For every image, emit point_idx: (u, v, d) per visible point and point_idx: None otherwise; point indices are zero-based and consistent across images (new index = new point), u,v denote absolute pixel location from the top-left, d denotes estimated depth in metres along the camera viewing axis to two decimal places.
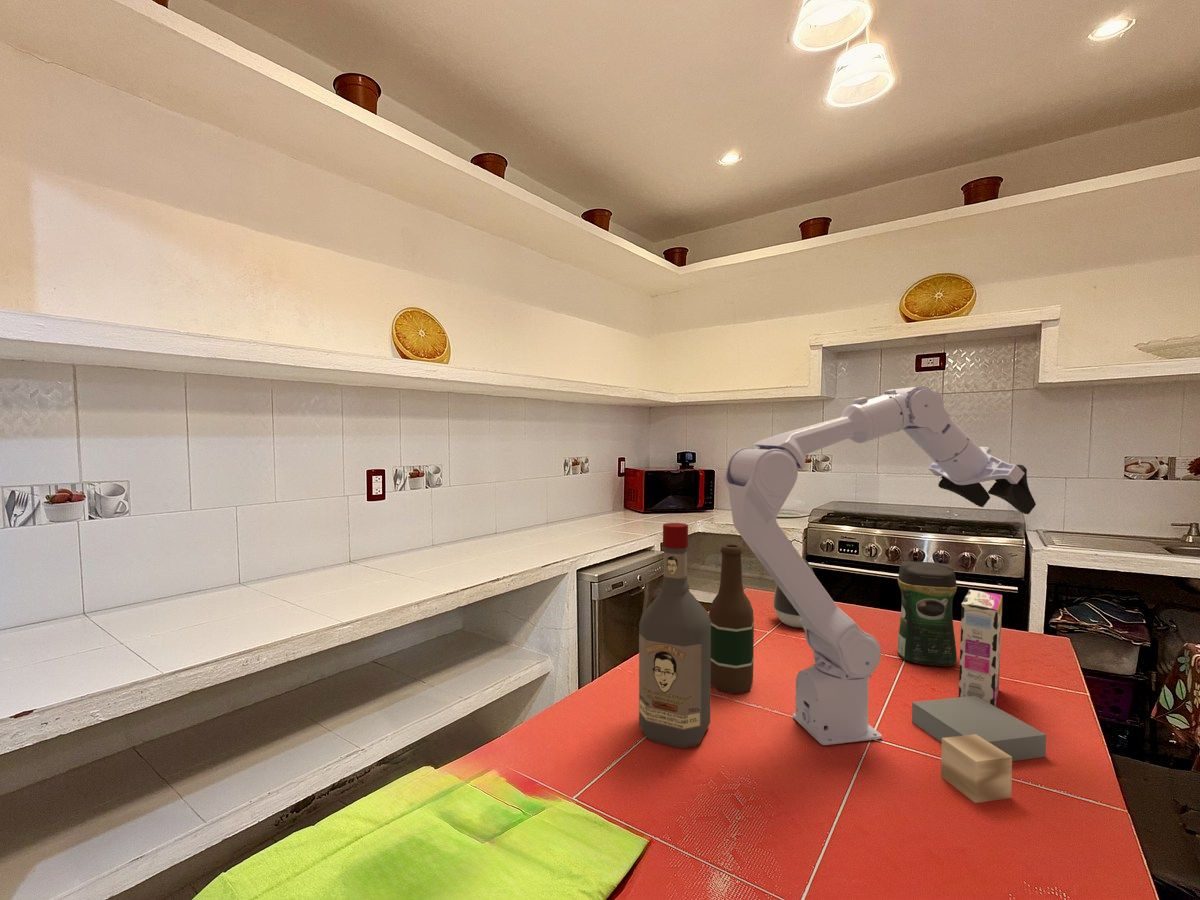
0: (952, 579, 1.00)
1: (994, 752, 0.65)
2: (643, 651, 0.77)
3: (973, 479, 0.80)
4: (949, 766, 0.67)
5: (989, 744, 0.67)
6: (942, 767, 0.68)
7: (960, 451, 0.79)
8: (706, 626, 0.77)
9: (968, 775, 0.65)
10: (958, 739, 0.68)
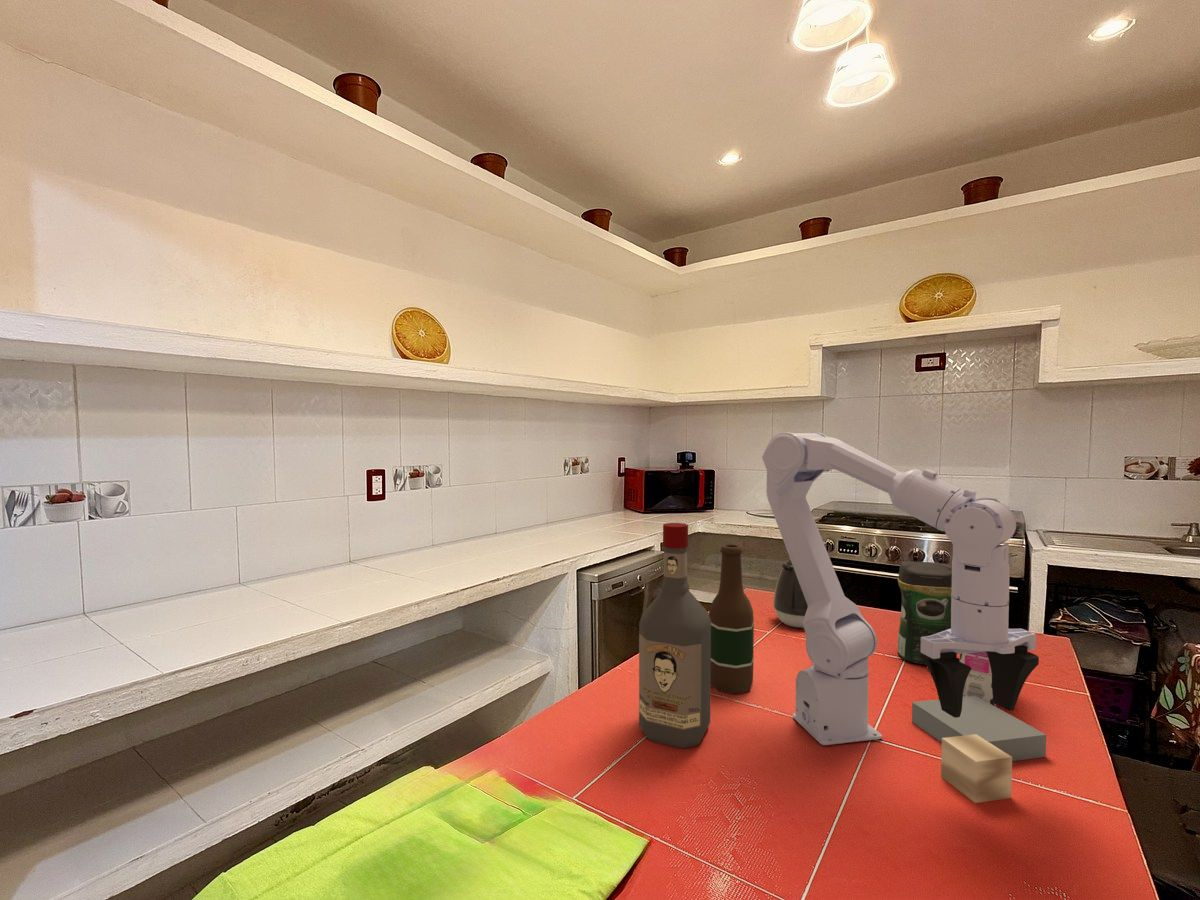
0: None
1: (994, 752, 0.65)
2: (643, 651, 0.77)
3: (946, 630, 0.68)
4: (949, 766, 0.67)
5: (989, 744, 0.67)
6: (942, 767, 0.68)
7: (954, 597, 0.66)
8: (706, 626, 0.77)
9: (968, 775, 0.65)
10: (958, 739, 0.68)
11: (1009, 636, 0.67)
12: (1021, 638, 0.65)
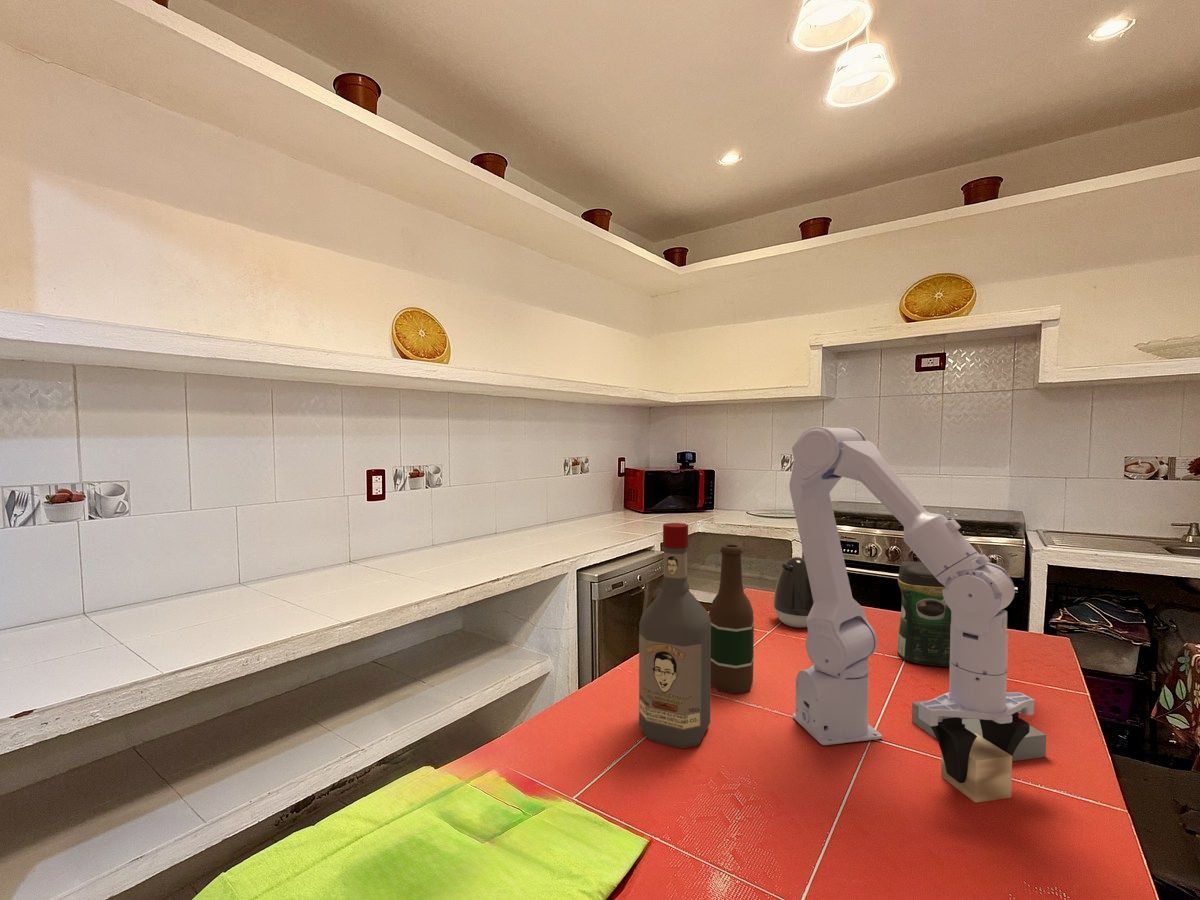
0: None
1: (994, 751, 0.65)
2: (643, 651, 0.77)
3: (944, 694, 0.68)
4: None
5: (989, 743, 0.67)
6: (942, 766, 0.68)
7: (952, 662, 0.66)
8: (706, 626, 0.77)
9: (969, 774, 0.65)
10: None
11: (1007, 701, 0.67)
12: (1019, 705, 0.66)
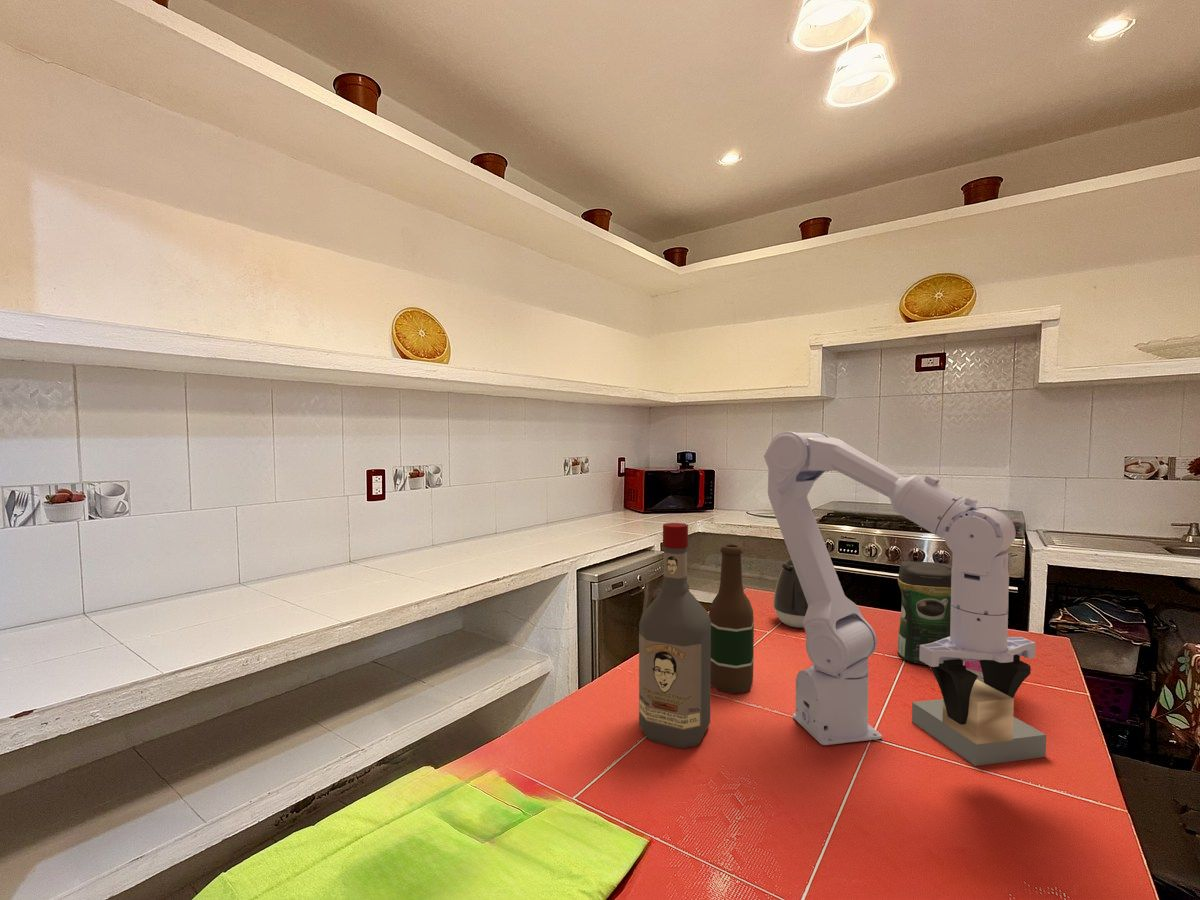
0: None
1: (995, 694, 0.65)
2: (643, 651, 0.77)
3: (945, 638, 0.68)
4: None
5: (991, 688, 0.67)
6: (943, 712, 0.68)
7: (953, 605, 0.66)
8: (706, 626, 0.77)
9: (970, 716, 0.64)
10: None
11: (1008, 644, 0.67)
12: (1020, 647, 0.65)
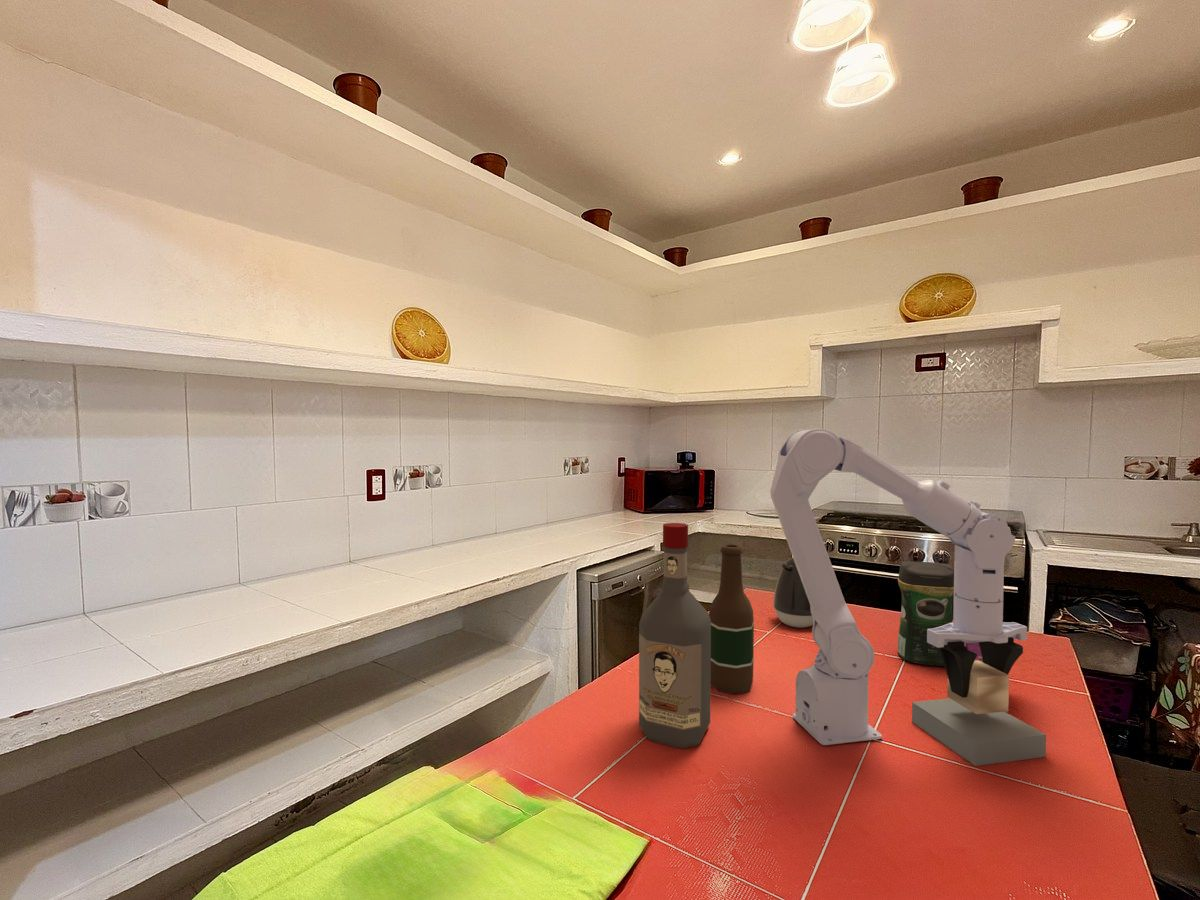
0: (952, 579, 1.00)
1: (993, 672, 0.76)
2: (643, 651, 0.77)
3: (949, 624, 0.78)
4: None
5: (989, 667, 0.77)
6: (948, 688, 0.79)
7: (956, 594, 0.77)
8: (706, 626, 0.77)
9: (971, 690, 0.75)
10: None
11: (1004, 628, 0.77)
12: (1014, 630, 0.76)
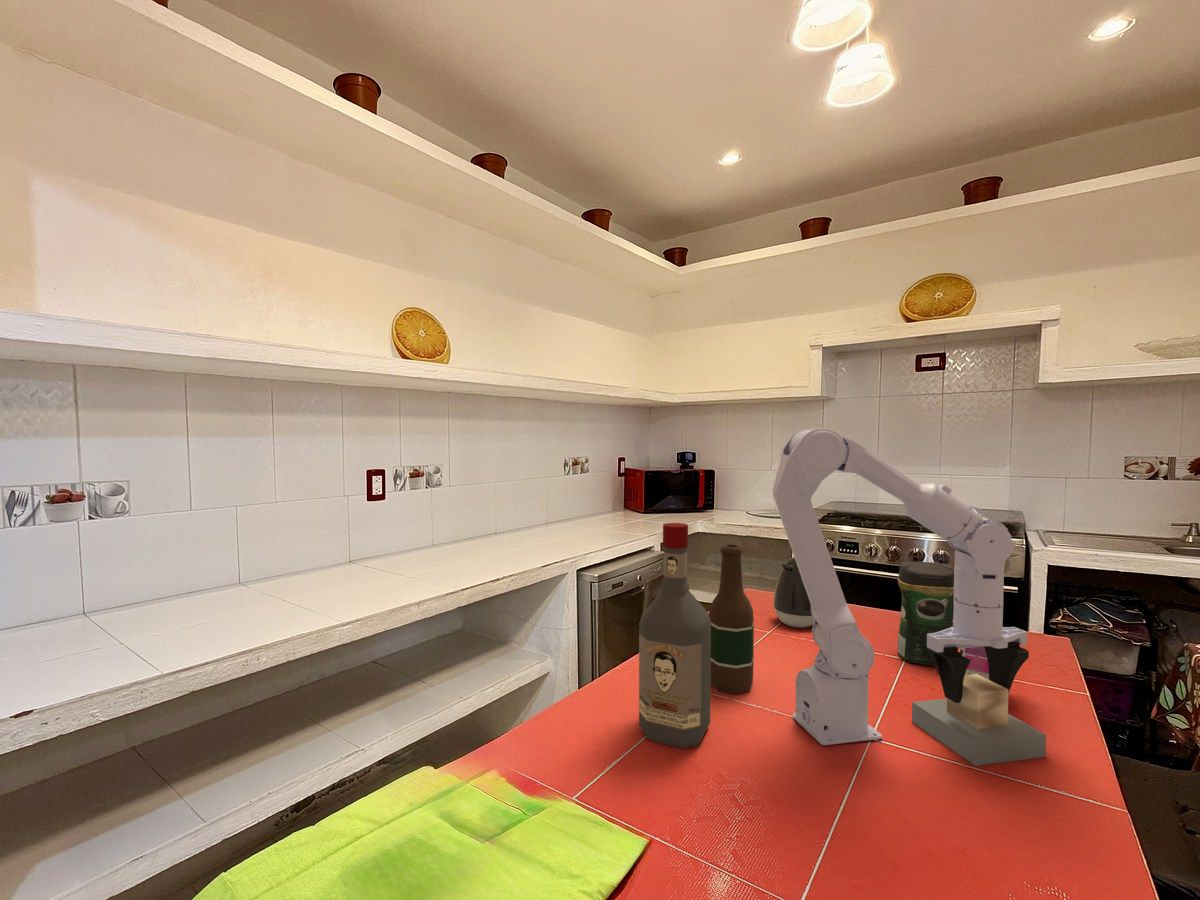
0: (952, 579, 1.00)
1: (992, 686, 0.76)
2: (643, 651, 0.77)
3: (949, 628, 0.78)
4: None
5: (988, 681, 0.77)
6: (948, 702, 0.79)
7: (956, 599, 0.77)
8: (706, 626, 0.77)
9: (971, 705, 0.75)
10: None
11: (1003, 633, 0.77)
12: (1014, 635, 0.76)
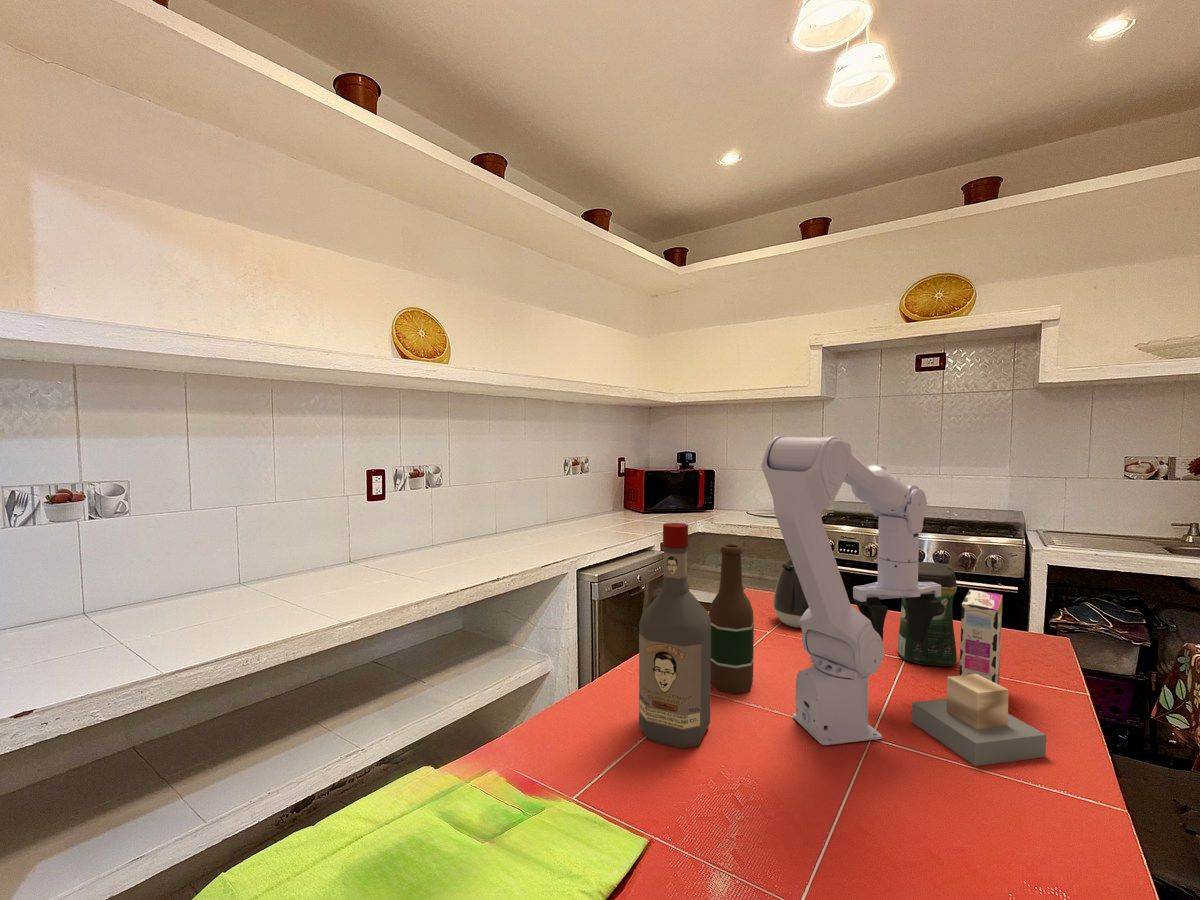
0: (952, 579, 1.00)
1: (992, 686, 0.76)
2: (643, 651, 0.77)
3: (874, 583, 0.90)
4: (954, 700, 0.77)
5: (988, 681, 0.77)
6: (948, 702, 0.79)
7: (879, 556, 0.88)
8: (706, 626, 0.77)
9: (971, 705, 0.75)
10: (961, 677, 0.78)
11: (921, 586, 0.88)
12: (928, 587, 0.87)
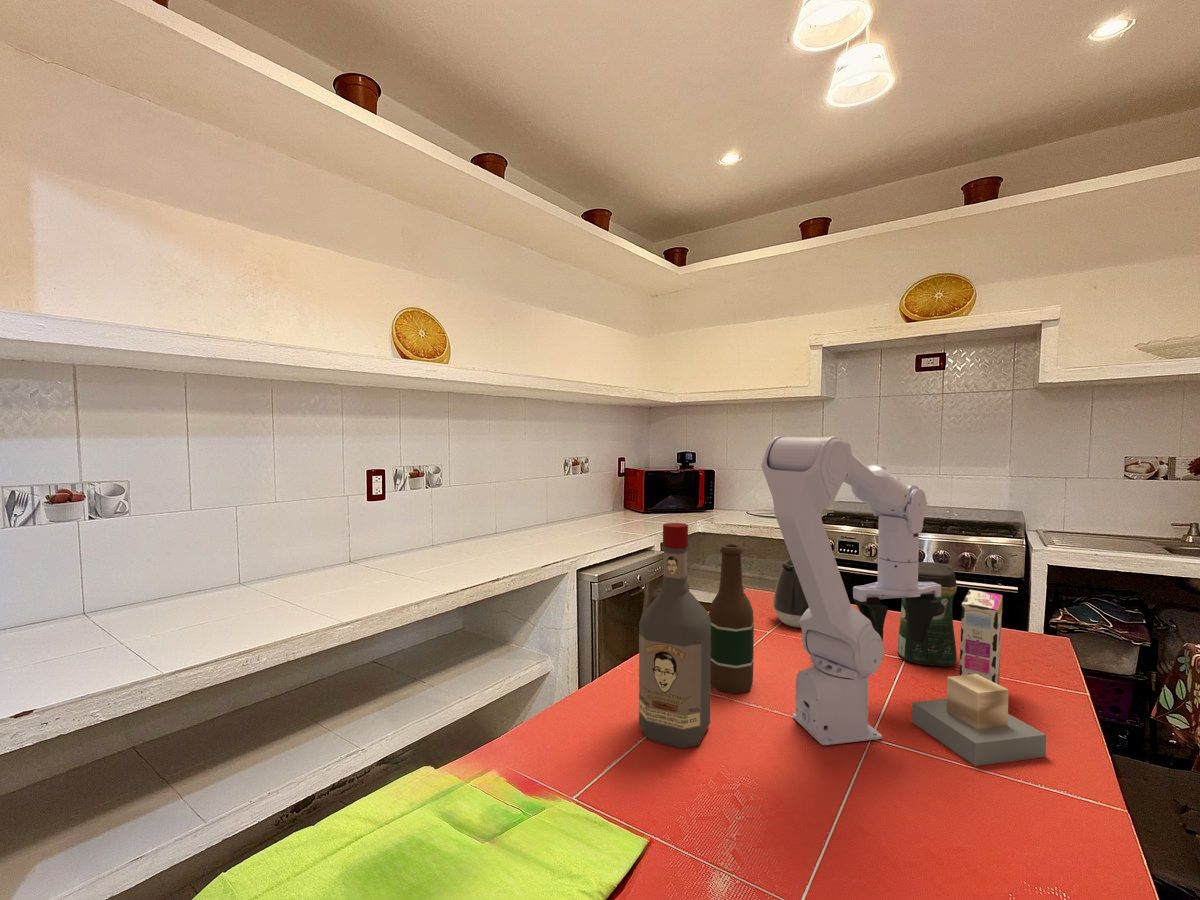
0: (952, 579, 1.00)
1: (992, 686, 0.76)
2: (643, 651, 0.77)
3: (874, 583, 0.90)
4: (954, 700, 0.77)
5: (988, 681, 0.77)
6: (948, 702, 0.79)
7: (879, 556, 0.88)
8: (706, 626, 0.77)
9: (971, 705, 0.75)
10: (961, 677, 0.78)
11: (921, 586, 0.88)
12: (928, 587, 0.87)
